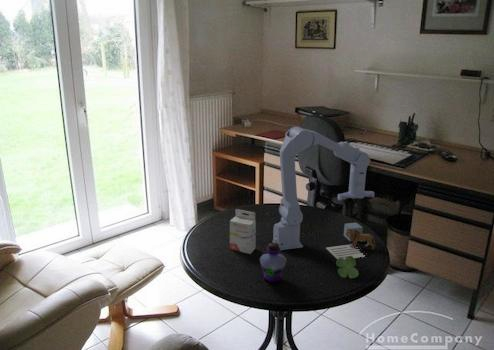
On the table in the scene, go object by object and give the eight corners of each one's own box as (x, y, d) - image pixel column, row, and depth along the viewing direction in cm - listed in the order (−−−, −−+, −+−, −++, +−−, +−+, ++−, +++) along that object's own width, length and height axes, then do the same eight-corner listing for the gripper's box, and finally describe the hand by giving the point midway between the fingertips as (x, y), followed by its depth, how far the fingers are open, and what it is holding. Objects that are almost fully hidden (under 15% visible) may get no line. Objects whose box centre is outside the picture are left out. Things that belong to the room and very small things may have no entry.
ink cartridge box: (229, 250, 150) (228, 212, 146) (235, 244, 154) (235, 208, 150) (250, 254, 146) (250, 216, 142) (256, 249, 150) (256, 211, 146)
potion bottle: (260, 285, 126) (260, 250, 123) (258, 271, 135) (258, 238, 131) (288, 285, 127) (289, 250, 123) (284, 271, 135) (285, 237, 132)
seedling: (348, 285, 136) (349, 284, 130) (330, 267, 138) (330, 266, 132) (363, 269, 136) (365, 268, 130) (344, 252, 139) (345, 250, 133)
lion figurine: (345, 248, 150) (347, 230, 148) (343, 243, 155) (345, 225, 152) (378, 250, 150) (380, 232, 148) (375, 245, 154) (378, 227, 152)
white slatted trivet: (338, 260, 142) (338, 259, 142) (325, 248, 151) (325, 247, 151) (369, 256, 145) (369, 255, 145) (354, 244, 155) (354, 243, 155)
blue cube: (350, 242, 157) (351, 228, 155) (343, 236, 161) (344, 223, 160) (361, 240, 158) (362, 227, 157) (354, 235, 163) (356, 222, 161)
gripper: (345, 186, 148) (342, 221, 152) (380, 183, 152) (376, 217, 155) (335, 181, 154) (333, 214, 158) (369, 178, 158) (366, 211, 162)
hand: (354, 215), depth 157 cm, fingers open, 3 cm apart
